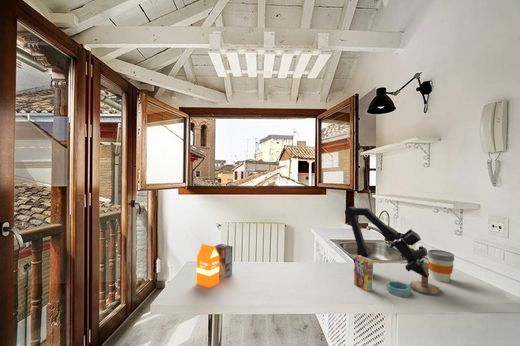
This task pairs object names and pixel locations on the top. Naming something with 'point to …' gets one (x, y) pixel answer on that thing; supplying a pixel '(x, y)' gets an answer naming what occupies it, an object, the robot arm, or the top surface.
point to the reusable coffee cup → (440, 265)
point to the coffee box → (224, 259)
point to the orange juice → (207, 266)
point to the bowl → (398, 288)
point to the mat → (427, 294)
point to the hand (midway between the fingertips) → (428, 276)
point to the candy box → (363, 272)
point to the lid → (425, 283)
